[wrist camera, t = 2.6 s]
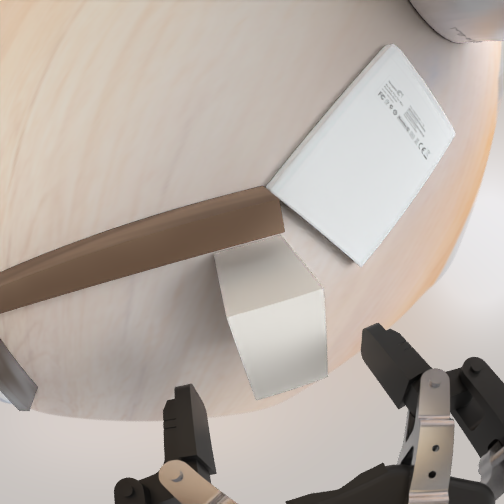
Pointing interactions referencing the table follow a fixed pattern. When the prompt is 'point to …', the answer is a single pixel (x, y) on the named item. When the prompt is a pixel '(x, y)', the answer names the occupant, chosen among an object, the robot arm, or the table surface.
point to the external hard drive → (367, 156)
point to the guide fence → (131, 259)
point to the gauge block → (274, 315)
